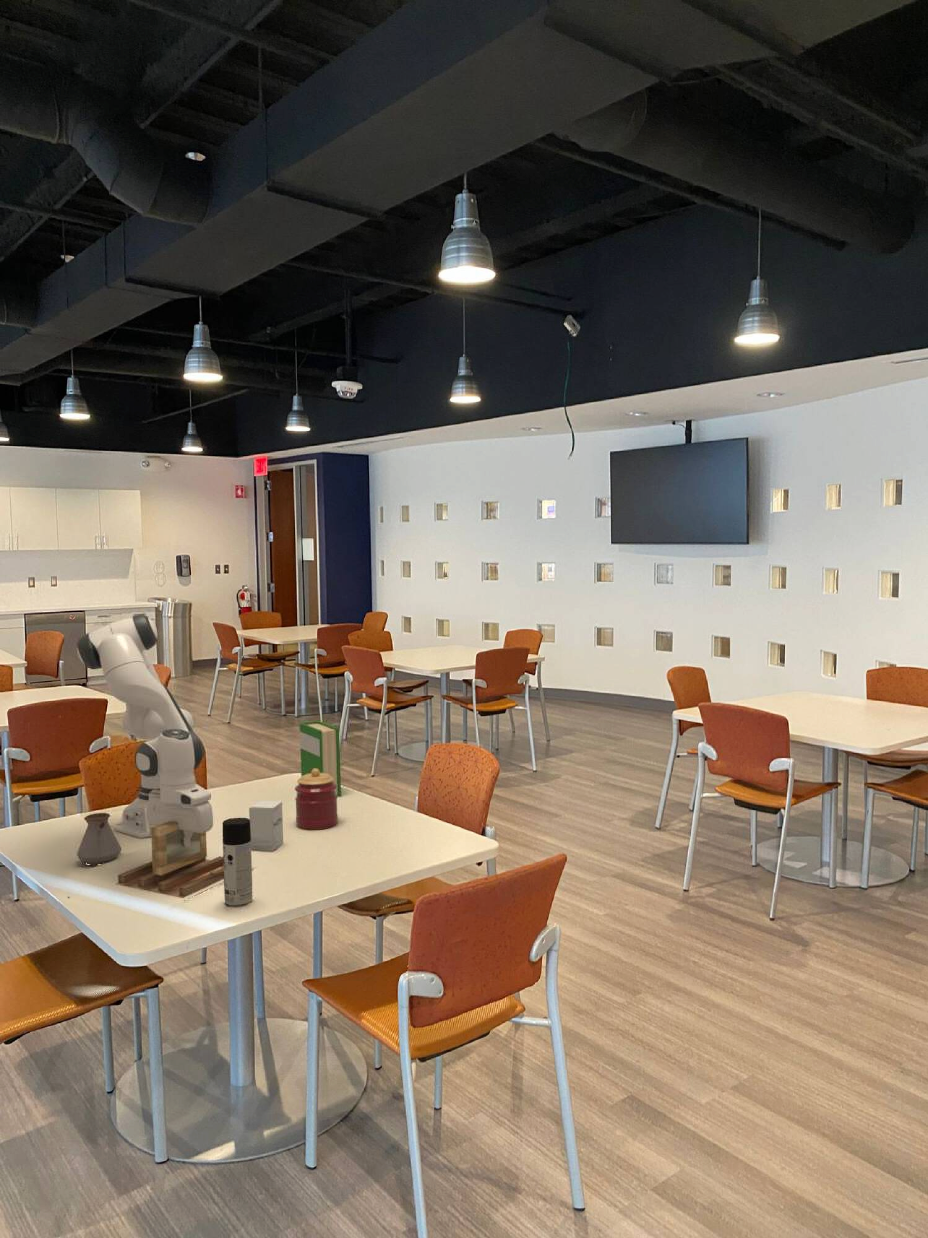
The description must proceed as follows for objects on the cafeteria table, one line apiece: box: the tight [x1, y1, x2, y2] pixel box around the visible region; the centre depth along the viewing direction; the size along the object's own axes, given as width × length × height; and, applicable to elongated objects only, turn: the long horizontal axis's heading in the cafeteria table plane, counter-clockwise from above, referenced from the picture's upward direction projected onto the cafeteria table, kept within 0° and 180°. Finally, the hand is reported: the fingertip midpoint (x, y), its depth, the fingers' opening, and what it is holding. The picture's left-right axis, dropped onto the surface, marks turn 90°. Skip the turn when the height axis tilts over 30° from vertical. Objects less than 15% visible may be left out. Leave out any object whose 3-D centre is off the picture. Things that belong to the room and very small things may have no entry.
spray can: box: [222, 817, 253, 907], centre depth 221 cm, size 7×7×20 cm
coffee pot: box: [76, 812, 122, 865], centre depth 249 cm, size 21×12×15 cm, turn 27°
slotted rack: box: [115, 855, 224, 902], centre depth 238 cm, size 23×24×4 cm
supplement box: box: [248, 800, 284, 852], centre depth 263 cm, size 7×7×13 cm
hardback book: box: [299, 720, 342, 798], centre depth 322 cm, size 18×7×24 cm, turn 32°
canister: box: [294, 768, 339, 831], centre depth 284 cm, size 13×13×18 cm
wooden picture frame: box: [150, 821, 208, 876], centre depth 237 cm, size 3×16×12 cm, turn 152°
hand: (180, 845), depth 238 cm, fingers closed on wooden picture frame, 3 cm apart
